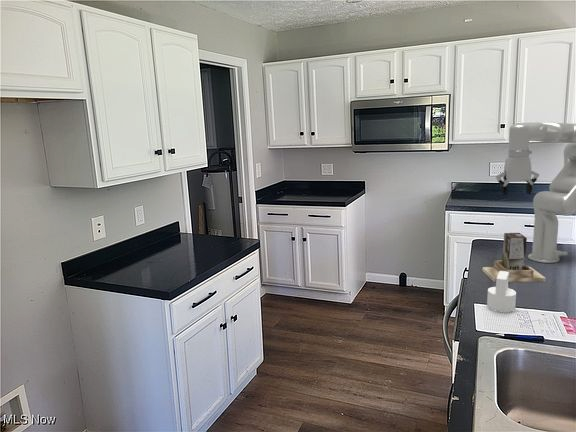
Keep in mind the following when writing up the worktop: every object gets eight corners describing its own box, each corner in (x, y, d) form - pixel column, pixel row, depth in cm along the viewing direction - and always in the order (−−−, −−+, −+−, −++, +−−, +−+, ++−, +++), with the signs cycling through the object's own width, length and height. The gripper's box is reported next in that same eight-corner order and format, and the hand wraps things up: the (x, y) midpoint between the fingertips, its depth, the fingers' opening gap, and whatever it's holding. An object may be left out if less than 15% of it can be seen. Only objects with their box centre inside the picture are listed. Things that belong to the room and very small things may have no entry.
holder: (530, 270, 191) (531, 260, 190) (545, 281, 177) (546, 270, 176) (482, 270, 193) (482, 260, 192) (493, 281, 179) (494, 271, 178)
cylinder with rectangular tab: (513, 314, 150) (516, 281, 147) (485, 309, 154) (486, 277, 152) (516, 304, 157) (518, 272, 154) (488, 300, 162) (490, 269, 159)
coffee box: (524, 276, 180) (527, 237, 176) (507, 275, 181) (510, 237, 178) (517, 268, 189) (520, 232, 185) (501, 268, 190) (503, 232, 186)
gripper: (535, 152, 188) (533, 191, 191) (493, 154, 189) (492, 194, 193) (544, 153, 180) (541, 194, 184) (500, 156, 182) (499, 197, 186)
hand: (516, 194), depth 189 cm, fingers open, 9 cm apart
